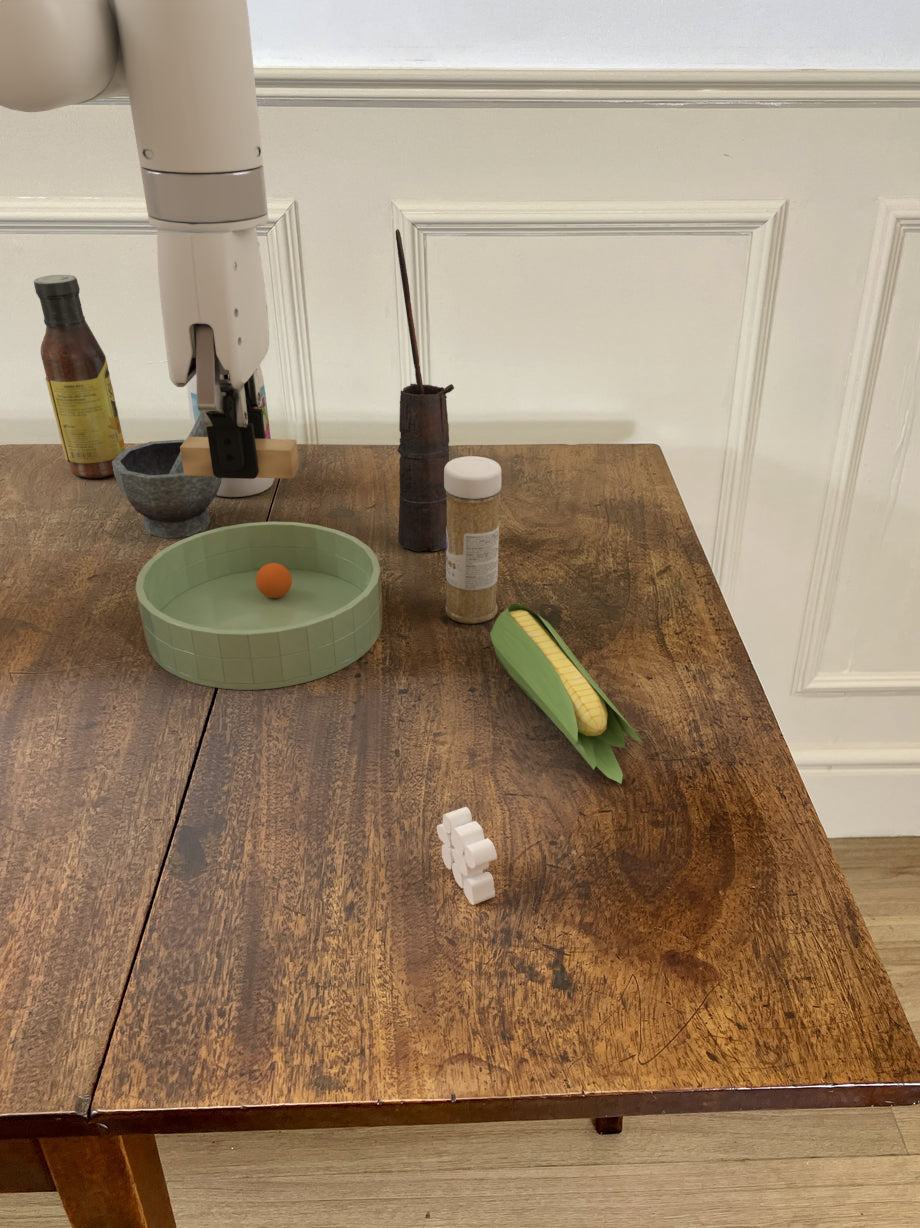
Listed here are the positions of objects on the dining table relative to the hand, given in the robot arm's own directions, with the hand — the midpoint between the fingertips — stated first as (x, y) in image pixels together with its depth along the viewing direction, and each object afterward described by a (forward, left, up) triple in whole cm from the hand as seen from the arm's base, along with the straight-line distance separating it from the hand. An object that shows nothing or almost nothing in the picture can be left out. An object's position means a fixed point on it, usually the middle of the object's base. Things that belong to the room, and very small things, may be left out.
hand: (241, 467), depth 77 cm
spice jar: (+17, +5, -15) cm, 23 cm away
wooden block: (0, 0, 0) cm, 0 cm away
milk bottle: (-9, +31, -15) cm, 36 cm away
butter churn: (+13, +19, -15) cm, 28 cm away
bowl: (0, +2, -15) cm, 15 cm away
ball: (0, +6, -13) cm, 14 cm away
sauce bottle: (-25, +34, -15) cm, 45 cm away
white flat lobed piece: (+18, -27, -15) cm, 36 cm away
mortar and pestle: (-12, +21, -15) cm, 29 cm away
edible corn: (+24, -9, -15) cm, 30 cm away
